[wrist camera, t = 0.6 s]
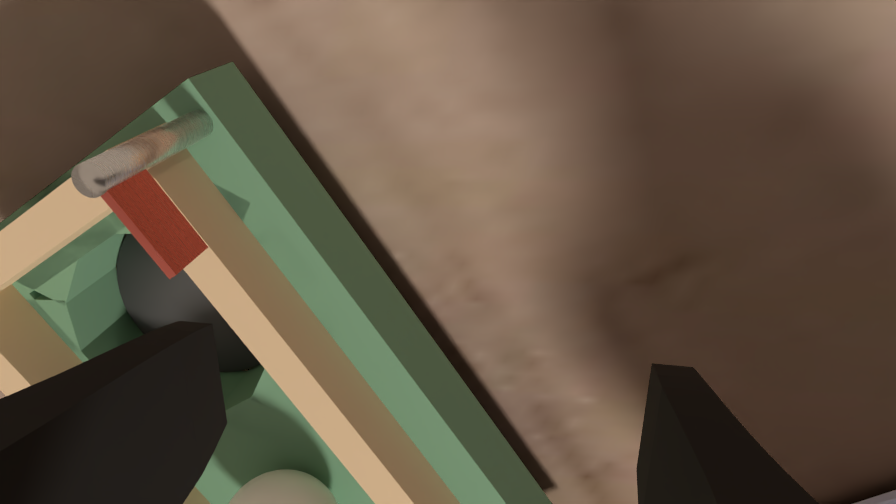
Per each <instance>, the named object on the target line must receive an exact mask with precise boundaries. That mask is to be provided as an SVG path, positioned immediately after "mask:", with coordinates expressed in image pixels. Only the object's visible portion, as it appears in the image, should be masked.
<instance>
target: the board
mask: <svg viewBox="0 0 896 504" xmlns="http://www.w3.org/2000/svg"><path fill="white" fill-rule="evenodd" d="M193 110H202V111H204V112H206V113H207V114H208V115H209V116H210V117H211V119H212V121H213V131H212V133H211V134H210V135H209V136H207V137H206V138H204V139H202V140H200V141H198V142H197V143H195V144H193V145H191V146H189V147H188V148H186V149H184V150H182V151H180V152H179V153H177V154H175V155H173V156H171V157H170V158H168V159H166V160H164V161H162V162H161V163H159V164H157V165H155V166H153V167H152V168H150V169H148V170H147V171H148V172H149V173H150V174H151V176H152V177H153V178H154V179H155V181H156V182H157V183H158V184H159V186H160V187H161V188H162V190H163V191H164V192H165V193H166V195H167V196H168V197H169V198H170V200H171V201H172V202H173V203H174V205H175V206H176V207H177V208H178V210H179V211H180V212H181V213H182V215H183V216H184V217H185V218H186V220H187V221H188V222H189V223H190V225H191V226H192V227H193V228H194V230H195V231H196V232H197V233H198V235H199V236H200V237H201V238H202V240H203V241H204V242H205V243H206V245H207V246H208V248H207V249H206V250H205V251H203V252H202V253H201V254H200V255H199V256H198V257H196V258H195V259H194V260H193V261H192V262H191V263H190V264H188V265H187V266H186V267H185V268H184V269H183V270H181V271H180V272H179V273H178V274H177V275H175V276H174V277H172V278H171V279H169V278H168V277H167V276H166V275H165V273H164V272H163V271H162V270H161V269H160V267H159V266H158V265H157V264H156V263H155V261H154V260H153V259H152V258H151V257H150V255H149V254H148V253H147V252H146V251H145V249H144V248H143V247H142V246H141V245H140V243H139V242H138V241H137V240H136V238H135V237H134V236H133V235H132V234H131V232H130V231H129V230H128V229H127V228H126V226H125V225H124V224H123V223H122V222H121V220H120V219H119V218H118V217H117V216H116V214H115V213H114V212H113V211H112V209H111V208H110V207H109V206H108V205H107V203H106V202H105V201H104V200H103V199H102V197H101V196H99V197H97V198H89V197H86V196H84V195H82V194H81V193H80V192H79V191H78V190H77V189H76V188H75V186H74V184H73V182H72V178H71V173H72V170H73V168H74V167H75V166H76V165H77V164H80V163H82V162H84V161H86V160H88V159H90V158H92V157H95V156H97V155H99V154H101V153H103V152H105V151H107V150H110V149H112V148H114V147H116V146H118V145H120V144H122V143H125V142H127V141H129V140H131V139H133V138H135V137H137V136H140V135H142V134H144V133H146V132H148V131H150V130H152V129H155V128H157V127H159V126H161V125H163V124H165V123H168V122H170V121H172V120H174V119H176V118H178V117H180V116H183V115H185V114H187V113H189V112H191V111H193ZM77 164H76V165H75V166H74V167H72V168H71V169H70V170H68V171H67V172H66V173H64V174H63V175H62V176H61V177H59V178H58V179H57V180H55V181H54V182H53V183H51V184H50V185H49V186H48V187H46V188H45V189H44V190H42V191H41V192H40V193H38V194H37V195H36V196H35V197H33V198H32V199H31V200H29V201H28V202H27V203H25V204H24V205H23V206H22V207H20V208H19V209H18V210H16V211H15V212H14V213H12V214H11V215H10V216H9V217H7V218H6V219H5V220H3V221H2V222H1V223H0V390H1V391H2V392H3V393H4V394H5V395H6V396H8V395H11V394H13V393H15V392H18V391H20V390H22V389H25V388H27V387H29V386H32V385H34V384H36V383H39V382H41V381H43V380H46V379H48V378H50V377H53V376H55V375H57V374H59V373H62V372H64V371H66V370H68V369H70V368H72V367H75V366H77V365H79V364H81V363H83V362H85V361H87V360H90V359H92V358H94V357H96V356H98V355H100V354H103V353H105V352H107V351H109V350H111V349H113V348H115V347H118V346H120V345H122V344H124V343H126V342H128V341H131V340H133V339H135V338H137V337H139V336H142V335H144V334H146V333H148V332H151V331H153V330H155V329H158V328H160V327H163V326H165V325H168V324H171V323H174V322H177V321H188V322H199V323H210V324H213V331H214V337H215V344H216V351H217V357H218V364H219V371H220V377H221V384H222V391H223V397H224V404H225V411H226V417H227V425H226V427H225V429H224V431H223V434H222V436H221V438H220V440H219V442H218V444H217V446H216V449H215V451H214V453H213V455H212V457H211V459H210V460H209V462H208V464H207V466H206V468H205V470H204V472H203V474H202V476H201V477H200V479H199V480H198V482H197V483H196V485H195V487H194V488H193V490H192V491H191V493H190V494H189V496H188V497H187V499H186V500H185V502H184V503H183V504H229V502H230V500H231V499H232V498H233V496H234V495H235V494H236V493H237V492H238V491H239V490H240V488H241V487H242V486H244V485H245V484H246V483H248V482H249V481H250V480H252V479H254V478H255V477H257V476H259V475H261V474H264V473H266V472H270V471H275V470H281V469H288V470H297V471H302V472H305V473H307V474H310V475H312V476H313V477H315V478H317V479H318V480H320V481H321V482H322V483H323V484H324V485H325V486H326V487H327V488H328V489H329V490H330V491H331V493H332V494H333V496H334V497H335V499H336V501H337V503H338V504H552V503H551V501H550V500H549V499H548V497H547V496H546V494H545V493H544V492H543V490H542V489H541V488H540V486H539V485H538V483H537V482H536V481H535V479H534V478H533V477H532V475H531V474H530V472H529V471H528V470H527V468H526V467H525V465H524V464H523V463H522V461H521V460H520V459H519V457H518V456H517V454H516V453H515V452H514V450H513V449H512V447H511V446H510V445H509V443H508V442H507V441H506V439H505V438H504V436H503V435H502V434H501V432H500V431H499V429H498V428H497V427H496V425H495V424H494V423H493V421H492V420H491V418H490V417H489V416H488V414H487V413H486V411H485V410H484V409H483V407H482V406H481V405H480V403H479V402H478V400H477V399H476V398H475V396H474V395H473V393H472V392H471V391H470V389H469V388H468V387H467V385H466V384H465V382H464V381H463V380H462V378H461V377H460V376H459V374H458V373H457V371H456V370H455V369H454V367H453V366H452V364H451V363H450V362H449V360H448V359H447V358H446V356H445V355H444V353H443V352H442V351H441V349H440V348H439V346H438V345H437V344H436V342H435V341H434V340H433V338H432V337H431V335H430V334H429V333H428V331H427V330H426V328H425V327H424V326H423V324H422V323H421V322H420V320H419V319H418V317H417V316H416V315H415V313H414V312H413V310H412V309H411V308H410V306H409V305H408V304H407V302H406V301H405V299H404V298H403V297H402V295H401V294H400V292H399V291H398V290H397V288H396V287H395V286H394V284H393V283H392V281H391V280H390V279H389V277H388V276H387V275H386V273H385V272H384V270H383V269H382V268H381V266H380V265H379V263H378V262H377V261H376V259H375V258H374V257H373V255H372V254H371V252H370V251H369V250H368V248H367V247H366V245H365V244H364V243H363V241H362V240H361V239H360V237H359V236H358V234H357V233H356V232H355V230H354V229H353V227H352V226H351V225H350V223H349V222H348V221H347V219H346V218H345V216H344V215H343V214H342V212H341V211H340V209H339V208H338V207H337V205H336V204H335V203H334V201H333V200H332V198H331V197H330V196H329V194H328V193H327V192H326V190H325V189H324V187H323V186H322V185H321V183H320V182H319V180H318V179H317V178H316V176H315V175H314V174H313V172H312V171H311V169H310V168H309V167H308V165H307V164H306V162H305V161H304V160H303V158H302V157H301V156H300V154H299V153H298V151H297V150H296V149H295V147H294V146H293V144H292V143H291V142H290V140H289V139H288V138H287V136H286V135H285V133H284V132H283V131H282V129H281V128H280V126H279V125H278V124H277V122H276V121H275V120H274V118H273V117H272V115H271V114H270V113H269V111H268V110H267V108H266V107H265V106H264V104H263V103H262V102H261V100H260V99H259V97H258V96H257V95H256V93H255V92H254V91H253V89H252V88H251V86H250V85H249V84H248V82H247V81H246V79H245V78H244V77H243V75H242V74H241V73H240V71H239V70H238V68H237V67H236V66H235V64H234V63H233V62H230V63H228V64H225V65H222V66H220V67H217V68H214V69H212V70H209V71H206V72H204V73H201V74H198V75H196V76H193V77H190V78H188V79H187V80H185V81H184V82H183V83H181V84H180V85H179V86H177V87H176V88H175V89H174V90H172V91H171V92H170V93H168V94H167V95H166V96H164V97H163V98H162V99H161V100H159V101H158V102H157V103H155V104H154V105H153V106H151V107H150V108H149V109H148V110H146V111H145V112H144V113H142V114H141V115H140V116H138V117H137V118H136V119H135V120H133V121H132V122H131V123H129V124H128V125H127V126H126V127H124V128H123V129H122V130H120V131H119V132H118V133H116V134H115V135H114V136H113V137H111V138H110V139H109V140H107V141H106V142H105V143H103V144H102V145H101V146H100V147H98V148H97V149H96V150H94V151H93V152H92V153H90V154H89V155H88V156H87V157H85V158H84V159H83V160H81V161H80V162H79V163H77ZM126 234H127V236H126V237H125V235H126ZM124 238H125V239H124ZM116 264H117V270H116ZM249 368H252V369H250V370H248V371H242V370H246V369H249Z"/></svg>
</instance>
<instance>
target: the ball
mask: <svg viewBox="0 0 896 504" xmlns="http://www.w3.org/2000/svg"><path fill="white" fill-rule="evenodd" d="M229 504H338V503H337V501H336V499H335V497H334V496H333V494H332V493H331V491H330V490H329V489H328V488H327V487H326V486H325V485H324V484H323V483H322V482H321V481H320V480H318V479H317V478H315V477H313V476H312V475H310V474H307V473H305V472H302V471H297V470H288V469H281V470H275V471H270V472H266V473H264V474H261V475H259V476H257V477H255V478H254V479H252V480H250V481H249V482H248V483H246V484H245V485H244V486H242V487H241V488H240V490H239V491H238V492H237V493H236V494H235V495H234V496H233V498H232V499H231V500H230V502H229Z"/></svg>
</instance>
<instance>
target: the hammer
mask: <svg viewBox="0 0 896 504" xmlns="http://www.w3.org/2000/svg"><path fill="white" fill-rule="evenodd" d="M212 131H213V121H212V119H211V117H210V116H209V115H208V114H207V113H206V112H204V111H202V110H193V111H191V112H189V113H187V114H185V115H183V116H180V117H178V118H176V119H174V120H172V121H170V122H168V123H165V124H163V125H161V126H159V127H157V128H155V129H152V130H150V131H148V132H146V133H144V134H142V135H140V136H137V137H135V138H133V139H131V140H129V141H127V142H125V143H122V144H120V145H118V146H116V147H114V148H112V149H110V150H107V151H105V152H103V153H101V154H99V155H97V156H95V157H92V158H90V159H88V160H86V161H84V162H82V163H80V164H77V165H76V166H75V167H74V168H73V170H72V173H71V178H72V182H73V184H74V186H75V188H76V189H77V190H78V191H79V192H80V193H81V194H82V195H84V196H86V197H89V198H97V197H99V196H101V197H102V199H103V200H104V201H105V202H106V203H107V205H108V206H109V207H110V208H111V209H112V211H113V212H114V213H115V214H116V216H117V217H118V218H119V219H120V220H121V222H122V223H123V224H124V225H125V226H126V228H127V229H128V230H129V231H130V232H131V234H132V235H133V236H134V237H135V238H136V240H137V241H138V242H139V243H140V245H141V246H142V247H143V248H144V249H145V251H146V252H147V253H148V254H149V255H150V257H151V258H152V259H153V260H154V261H155V263H156V264H157V265H158V266H159V267H160V269H161V270H162V271H163V272H164V273H165V275H166V276H167V277H168V278H169V279H171V278H172V277H174V276H175V275H177V274H178V273H179V272H180V271H181V270H183V269H184V268H185V267H186V266H187V265H188V264H190V263H191V262H192V261H193V260H194V259H195V258H196V257H198V256H199V255H200V254H201V253H202V252H203V251H205V250H206V249H207V248H208V246H207V245H206V243H205V242H204V241H203V240H202V238H201V237H200V236H199V235H198V233H197V232H196V231H195V230H194V228H193V227H192V226H191V225H190V223H189V222H188V221H187V220H186V218H185V217H184V216H183V215H182V213H181V212H180V211H179V210H178V208H177V207H176V206H175V205H174V203H173V202H172V201H171V200H170V198H169V197H168V196H167V195H166V193H165V192H164V191H163V190H162V188H161V187H160V186H159V184H158V183H157V182H156V181H155V179H154V178H153V177H152V176H151V174H150V173H149V172H148V171H147V170H148V169H150V168H152V167H153V166H155V165H157V164H159V163H161V162H162V161H164V160H166V159H168V158H170V157H171V156H173V155H175V154H177V153H179V152H180V151H182V150H184V149H186V148H188V147H189V146H191V145H193V144H195V143H197V142H198V141H200V140H202V139H204V138H206V137H207V136H209V135H210V134H211V133H212Z"/></svg>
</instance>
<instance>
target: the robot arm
mask: <svg viewBox="0 0 896 504" xmlns="http://www.w3.org/2000/svg"><path fill="white" fill-rule="evenodd" d="M226 425H227V417H226V411H225V404H224V397H223V391H222V384H221V377H220V371H219V364H218V357H217V351H216V344H215V337H214V331H213V324H210V323H199V322H188V321H177V322H174V323H171V324H168V325H165V326H163V327H160V328H158V329H155V330H153V331H151V332H148V333H146V334H144V335H142V336H139V337H137V338H135V339H133V340H131V341H128V342H126V343H124V344H122V345H120V346H118V347H115V348H113V349H111V350H109V351H107V352H105V353H103V354H100V355H98V356H96V357H94V358H92V359H90V360H87V361H85V362H83V363H81V364H79V365H77V366H75V367H72V368H70V369H68V370H66V371H64V372H62V373H59V374H57V375H55V376H53V377H50V378H48V379H46V380H43V381H41V382H39V383H36V384H34V385H32V386H29V387H27V388H25V389H22V390H20V391H18V392H15V393H13V394H11V395H8V396H6V397H4V398H1V399H0V504H183V503H184V502H185V500H186V499H187V497H188V496H189V494H190V493H191V491H192V490H193V488H194V487H195V485H196V483H197V482H198V480H199V479H200V477H201V476H202V474H203V472H204V470H205V468H206V466H207V464H208V462H209V460H210V459H211V457H212V455H213V453H214V451H215V449H216V446H217V444H218V442H219V440H220V438H221V436H222V434H223V431H224V429H225V427H226ZM637 486H638V504H819V503H818V502H817V501H815V500H814V499H813V498H812V497H811V496H810V495H809V494H808V493H807V492H806V491H805V490H804V489H803V488H802V487H801V486H800V485H799V484H798V483H797V482H796V481H795V480H794V479H793V478H792V477H791V476H790V475H788V474H787V473H786V472H785V471H784V470H783V469H782V468H781V467H780V465H779V464H778V463H777V462H776V461H775V460H774V459H773V458H772V457H771V456H770V455H769V454H768V453H767V452H766V451H765V450H764V449H763V448H762V447H761V446H760V444H759V443H758V442H757V441H756V440H755V439H754V438H753V437H752V436H751V435H750V434H749V432H748V431H747V430H746V429H745V428H744V427H743V426H742V424H741V423H740V422H739V421H738V420H737V419H736V417H735V416H734V415H733V414H732V413H731V412H730V410H729V409H728V408H727V407H726V406H725V405H724V403H723V402H722V401H721V400H720V399H719V397H718V396H717V395H716V394H715V393H714V391H713V390H712V389H711V388H710V387H709V385H708V384H707V383H706V382H705V381H704V379H703V378H702V377H701V376H700V375H699V374H698V372H697V371H696V370H695V369H694V368H693V367H684V366H673V365H662V364H652V367H651V374H650V380H649V387H648V394H647V401H646V408H645V415H644V422H643V429H642V436H641V443H640V449H639V456H638V463H637ZM853 504H896V490H894V491H891V492H887V493H884V494H881V495H878V496H875V497H872V498H869V499H866V500H862V501H859V502H856V503H853Z"/></svg>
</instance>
